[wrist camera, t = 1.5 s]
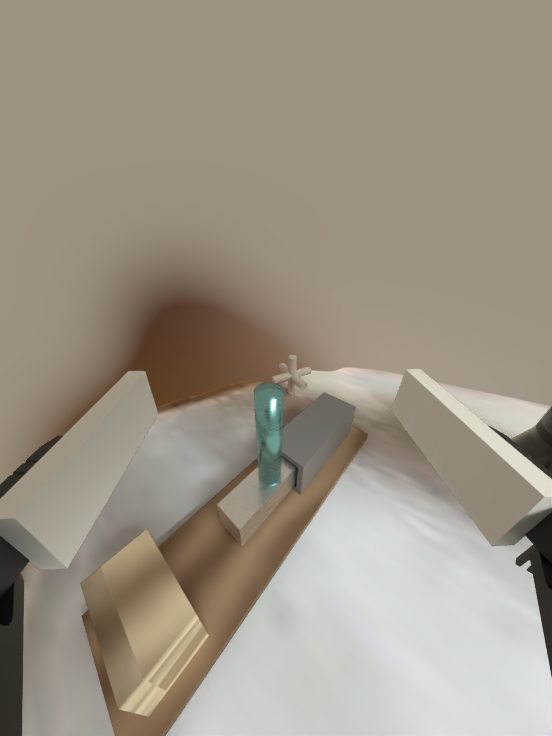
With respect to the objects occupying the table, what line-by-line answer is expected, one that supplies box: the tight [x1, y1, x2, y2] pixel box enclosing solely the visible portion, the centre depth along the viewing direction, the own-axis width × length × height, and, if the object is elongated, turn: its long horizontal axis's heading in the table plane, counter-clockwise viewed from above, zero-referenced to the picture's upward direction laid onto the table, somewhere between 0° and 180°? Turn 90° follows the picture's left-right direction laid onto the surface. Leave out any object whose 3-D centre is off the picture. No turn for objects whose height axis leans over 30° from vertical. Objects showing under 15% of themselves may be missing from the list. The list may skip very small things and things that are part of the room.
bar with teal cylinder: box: [217, 383, 298, 547], centre depth 31 cm, size 4×24×18 cm, turn 139°
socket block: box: [81, 529, 209, 717], centre depth 20 cm, size 9×6×7 cm, turn 49°
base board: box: [82, 426, 368, 736], centre depth 33 cm, size 12×42×1 cm, turn 139°
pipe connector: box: [271, 355, 311, 395], centre depth 53 cm, size 10×10×10 cm
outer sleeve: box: [282, 393, 356, 495], centre depth 38 cm, size 6×16×6 cm, turn 139°
